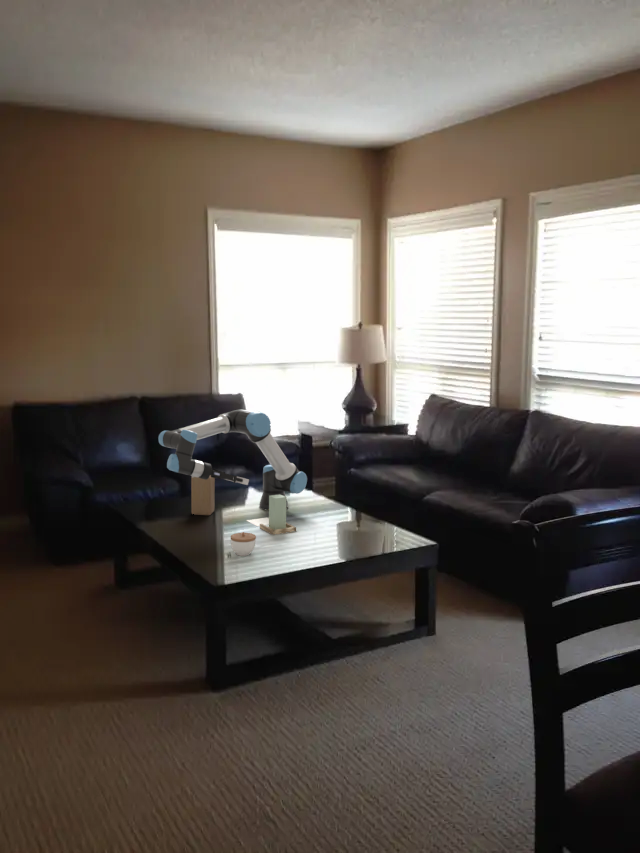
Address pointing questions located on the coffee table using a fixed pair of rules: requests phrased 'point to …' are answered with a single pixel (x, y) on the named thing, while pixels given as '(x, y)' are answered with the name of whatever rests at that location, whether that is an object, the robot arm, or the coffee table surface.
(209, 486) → the block
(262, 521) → the pad
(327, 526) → the coffee table surface
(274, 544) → the coffee table surface
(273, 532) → the shallow wooden tray
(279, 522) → the tall block
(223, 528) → the coffee table surface
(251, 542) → the lidded jar
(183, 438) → the robot arm
